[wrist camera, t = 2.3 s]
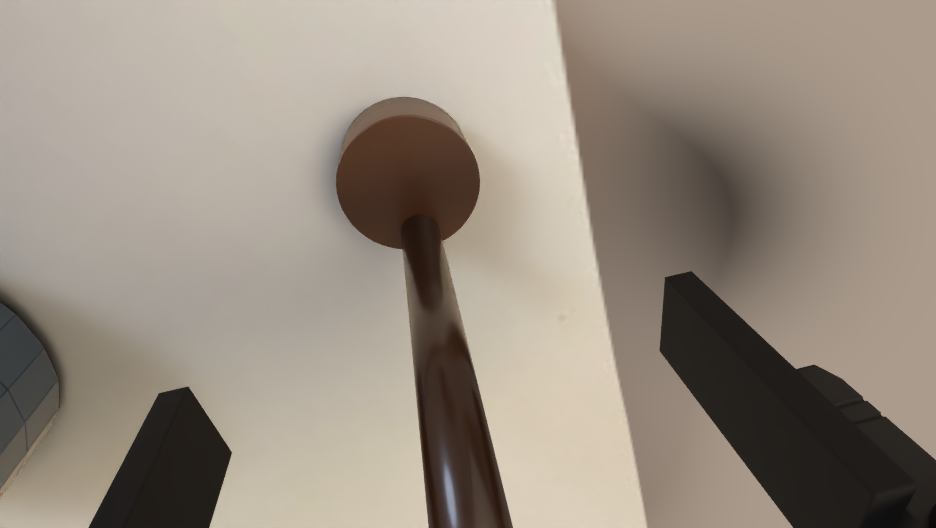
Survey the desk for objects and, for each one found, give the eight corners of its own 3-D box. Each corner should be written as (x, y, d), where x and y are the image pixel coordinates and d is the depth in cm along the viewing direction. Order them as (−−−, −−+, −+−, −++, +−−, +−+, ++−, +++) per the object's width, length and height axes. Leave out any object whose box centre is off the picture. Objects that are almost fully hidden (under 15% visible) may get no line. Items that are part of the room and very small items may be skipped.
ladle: (323, 111, 20) (157, 557, 5) (456, 84, 20) (696, 423, 5) (360, 230, 23) (331, 732, 8) (476, 205, 23) (662, 642, 8)
